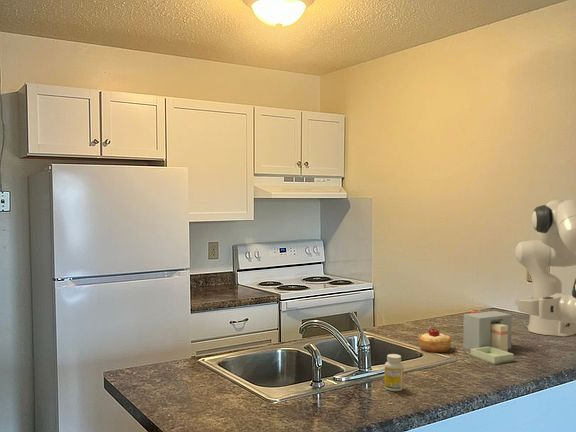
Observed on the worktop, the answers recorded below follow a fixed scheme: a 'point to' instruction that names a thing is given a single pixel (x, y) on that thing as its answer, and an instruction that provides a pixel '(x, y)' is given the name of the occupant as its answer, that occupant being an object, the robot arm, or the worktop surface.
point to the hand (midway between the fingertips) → (526, 301)
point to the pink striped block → (499, 336)
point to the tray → (492, 355)
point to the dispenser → (483, 328)
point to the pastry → (434, 341)
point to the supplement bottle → (394, 373)
